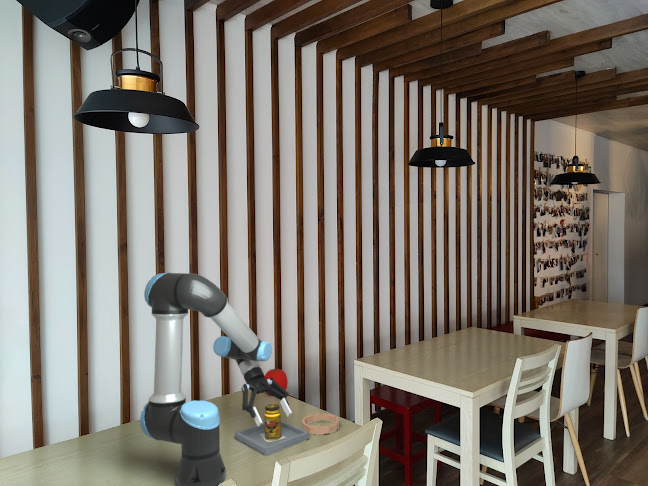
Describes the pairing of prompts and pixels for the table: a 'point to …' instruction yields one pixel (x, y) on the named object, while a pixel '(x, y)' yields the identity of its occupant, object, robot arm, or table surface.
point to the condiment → (272, 423)
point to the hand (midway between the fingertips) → (275, 419)
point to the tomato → (277, 377)
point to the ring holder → (324, 428)
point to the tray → (266, 448)
